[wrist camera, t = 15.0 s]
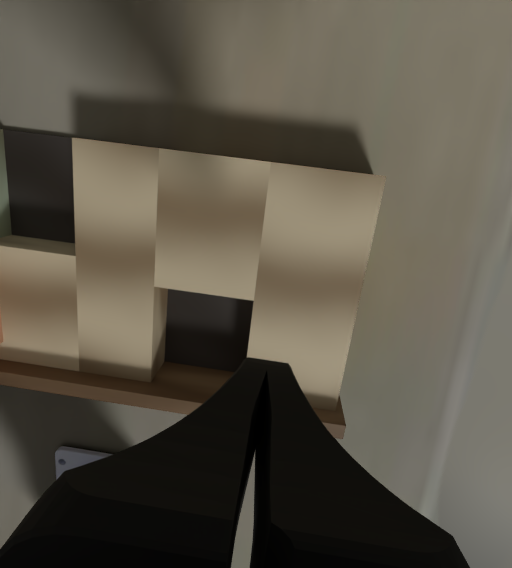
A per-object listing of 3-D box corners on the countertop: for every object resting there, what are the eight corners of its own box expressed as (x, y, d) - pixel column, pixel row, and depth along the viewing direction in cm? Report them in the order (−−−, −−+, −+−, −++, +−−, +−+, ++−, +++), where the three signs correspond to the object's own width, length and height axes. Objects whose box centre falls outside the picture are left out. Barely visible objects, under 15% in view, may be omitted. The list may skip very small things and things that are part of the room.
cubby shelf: (334, 397, 22) (342, 439, 19) (-65, 336, 23) (-125, 364, 20) (385, 159, 18) (407, 157, 15) (-103, 100, 19) (-187, 85, 16)
